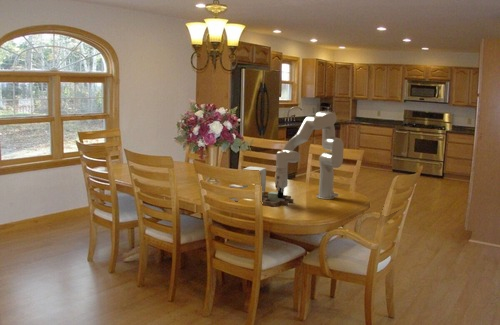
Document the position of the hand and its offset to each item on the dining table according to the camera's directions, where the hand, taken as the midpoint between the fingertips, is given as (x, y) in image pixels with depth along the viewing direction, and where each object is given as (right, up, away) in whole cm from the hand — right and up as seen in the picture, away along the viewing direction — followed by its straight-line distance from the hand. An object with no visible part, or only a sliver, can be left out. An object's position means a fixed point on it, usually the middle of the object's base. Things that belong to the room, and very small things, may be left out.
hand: (280, 197), depth 322 cm
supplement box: (-17, +2, +29) cm, 34 cm away
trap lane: (-3, -3, +2) cm, 5 cm away
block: (-4, -3, +3) cm, 6 cm away
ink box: (-29, -3, -5) cm, 30 cm away
